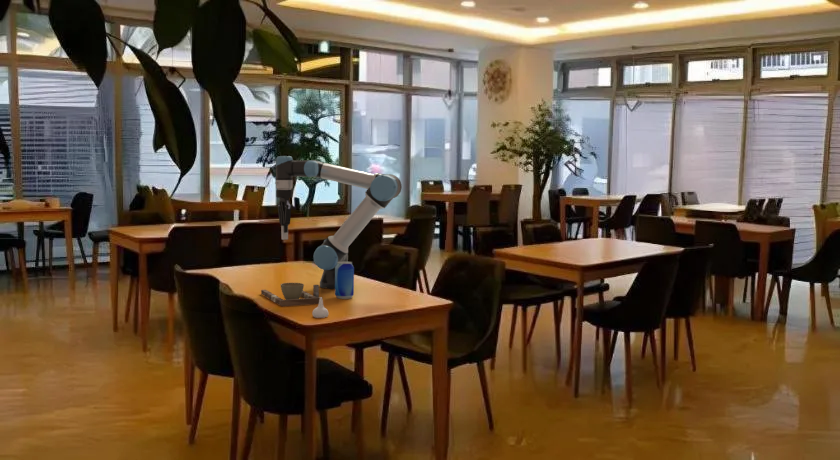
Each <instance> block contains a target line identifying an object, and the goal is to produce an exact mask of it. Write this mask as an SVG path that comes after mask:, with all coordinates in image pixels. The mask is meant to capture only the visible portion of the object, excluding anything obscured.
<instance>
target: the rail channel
mask: <svg viewBox="0 0 840 460" xmlns="http://www.w3.org/2000/svg"><path fill="white" fill-rule="evenodd" d="M312 289H313V290H312V292H313V293H312V294H311V293H309V292H307V291H304V290H303V291H302V294H301V296H300V297H301V298H299V299H289V300H286V299H283V298H282V297H279V296H278V295H276V294H274V293H272V292H270V290H267V289H261V290H260V291H261V292H260V294H261V295H262V296H263V295H264V297H265V298H266V299H268V298H269V300H270V301H272V302H274V303H275V304H277V305H278V306H280V307H293V306H294V307H295V306H296V307H297V306H310V305H318V304H319V299H320V298H319V297H320V293H319V291H320V284H313V287H312Z"/></svg>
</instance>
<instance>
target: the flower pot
mask: <svg viewBox="0 0 840 460" xmlns="http://www.w3.org/2000/svg"><path fill="white" fill-rule="evenodd" d="M304 286H305V284H304V283H302V282H283V283H281V284H280V290H281V293H282V295H283V298H284V300H289V299H301V298H300V297H301V294H302V291H304Z"/></svg>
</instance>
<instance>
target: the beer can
mask: <svg viewBox="0 0 840 460" xmlns="http://www.w3.org/2000/svg"><path fill="white" fill-rule="evenodd" d="M354 289H355V267H354V265H353V261H341V262H337V265H336V267H335V289H334V296H335V297H336V298H337V299H340V300H348V299H349V300H350V299H352V298H353V296H354V294H355V290H354Z"/></svg>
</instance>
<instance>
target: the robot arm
mask: <svg viewBox="0 0 840 460" xmlns="http://www.w3.org/2000/svg"><path fill="white" fill-rule="evenodd" d="M275 177H276V178H275V183H274V184H275V185H276V186H275V188H276V193H275V197H276V198H279V200H278V201H279V202H278V203H277V204H276V205H277V211H278V220H279V221H278V222H279V224H280V227H281V228H280V229H281V233H280V234H281V240H283V241H284V240H289V225H291V216H292V215H291V214H292V208H293V205H292V204H291V202H290V198H293V197H294V196H293V186H294V185H293V180H294V179H293V177H295V178H296V177H302V178H307V177H308V178H318V179H324V180H327V181H332V182H337V183H341V184H345V185H349V186H354V187H357V188H361V189H366V190H365V197H364V198H363V199H362V200H361V202H360V203H359V204H358V205H357V206H356V208H355V209H354V210H353V211H352V213H351V214H350V215H349V216H348V217H347V219H346V220H345V221H344V222H343V224H342V225H341V226H340V227H339V229H338V230H337V231H336V232H335V233H334V235H329V236H328V237H326V239H324V240H323V243H322V244H321V245H319V246H317V248H316V249H315V251H314V252H313V262H314V264H315V265H316V267H317V268H319V269H320V270H322V275H321V278H320V281H319V288H323V289H328V290H329V289H330V290H335V267H336V265H337V262H341V261H348V260H349V246H350V245H351V244H352V243H353V242H354V241H355V239H357V238H358V236H359V234H361V232H362V231H363V230H364V229H365V227H366V226H367V225H368V224H369V223H370V221H371V220H372V219H373V218H374V217H375V215H377V213H378V212H379V211H380V210H381V209H382V210H383V209H385V208H386V207H387V206H389V204H390V202H391V201H392V200H394V199H395V198H397V197H398V196H399V195H400V194H401V192H402V190H403V189H402V186H403V185H402V182H401V180H400V178H398V176H396V175H395V174H391V173H389V174H388V173H386V174H385V173H381V172H376V173H370V172H365V171H361V170H357V169H353V168H349V167H344V166H339V165H335V164H331V163H327V162H323V161H319V160H315V159H312V160H310V159H309V160H305V159H304V160H296V159H295V160H294V159H293V157H292V156H290V155H288V156H287V155H280V156H279V155H278V156H277V157H276V159H275ZM348 262H349V261H348Z"/></svg>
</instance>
